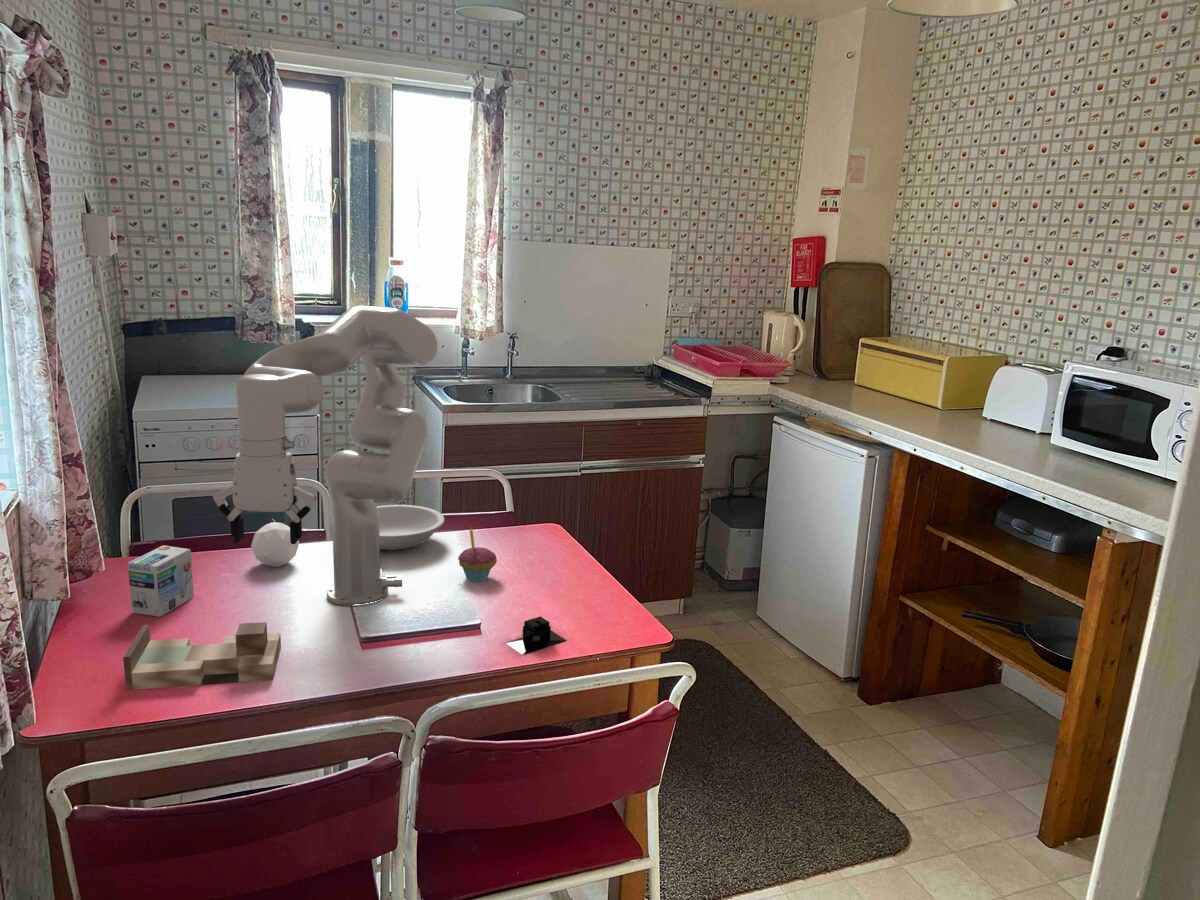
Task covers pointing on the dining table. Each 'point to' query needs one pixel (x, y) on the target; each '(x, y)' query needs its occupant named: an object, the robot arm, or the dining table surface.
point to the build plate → (535, 637)
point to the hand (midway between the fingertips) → (267, 540)
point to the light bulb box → (160, 580)
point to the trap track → (194, 662)
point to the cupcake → (477, 562)
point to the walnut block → (251, 639)
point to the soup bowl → (407, 525)
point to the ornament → (274, 544)
